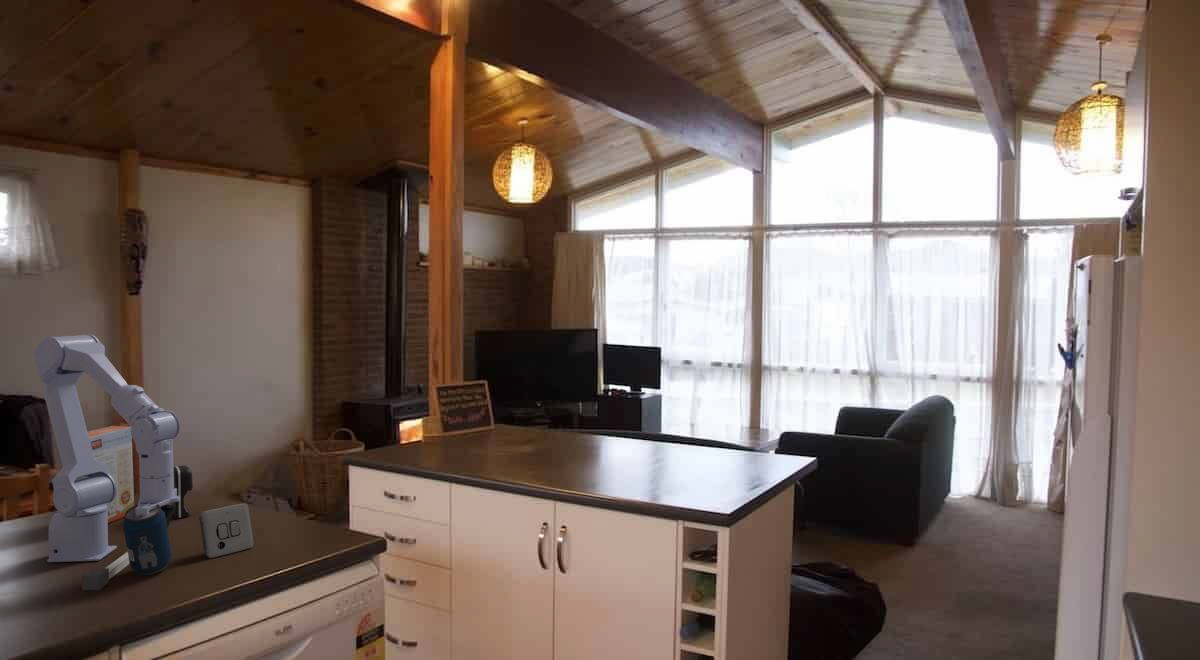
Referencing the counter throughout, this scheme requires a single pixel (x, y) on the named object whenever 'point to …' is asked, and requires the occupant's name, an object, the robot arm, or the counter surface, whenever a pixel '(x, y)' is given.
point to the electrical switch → (226, 530)
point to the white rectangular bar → (103, 574)
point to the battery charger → (182, 489)
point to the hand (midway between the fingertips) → (158, 544)
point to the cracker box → (115, 465)
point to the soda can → (147, 540)
